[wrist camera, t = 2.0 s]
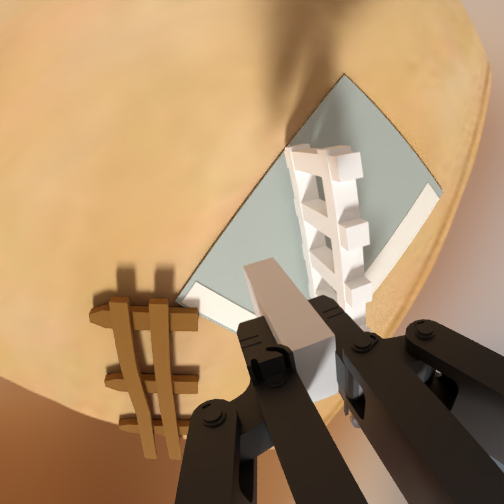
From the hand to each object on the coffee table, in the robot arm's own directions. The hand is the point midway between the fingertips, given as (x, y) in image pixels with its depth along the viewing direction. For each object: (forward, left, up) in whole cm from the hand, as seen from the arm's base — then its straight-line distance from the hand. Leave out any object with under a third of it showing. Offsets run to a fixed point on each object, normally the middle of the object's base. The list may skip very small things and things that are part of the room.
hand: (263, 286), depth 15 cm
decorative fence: (+20, +3, -11) cm, 23 cm away
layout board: (-4, +8, -11) cm, 14 cm away
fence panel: (-2, +7, -10) cm, 12 cm away
